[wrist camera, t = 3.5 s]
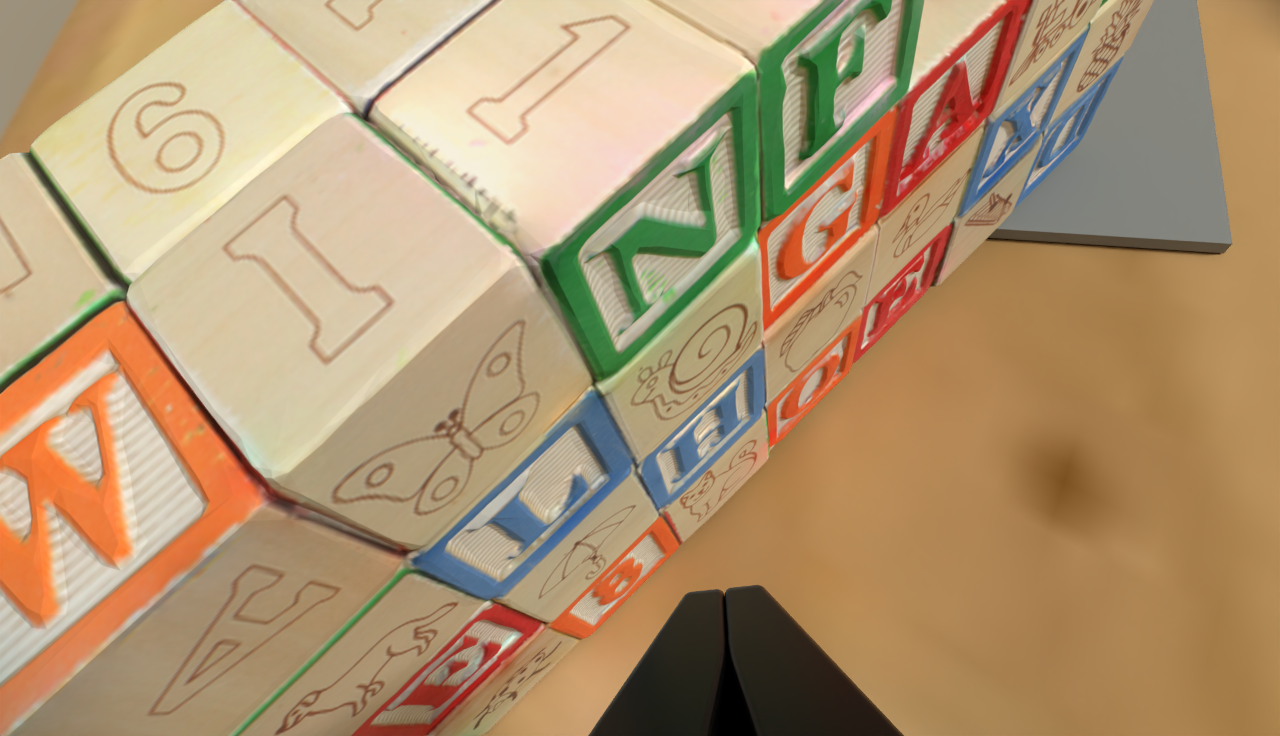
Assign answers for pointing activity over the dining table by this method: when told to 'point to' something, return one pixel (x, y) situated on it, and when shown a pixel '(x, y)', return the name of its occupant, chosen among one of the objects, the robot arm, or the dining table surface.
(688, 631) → the robot arm
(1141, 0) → the stack of blocks
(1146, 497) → the dining table surface
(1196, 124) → the mat
